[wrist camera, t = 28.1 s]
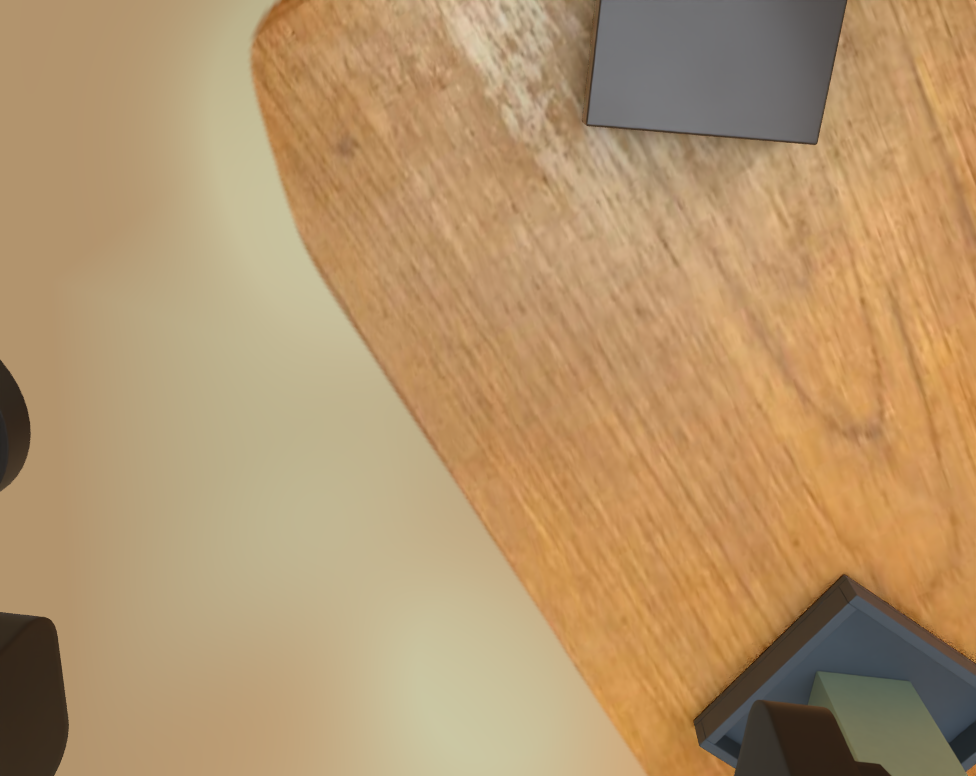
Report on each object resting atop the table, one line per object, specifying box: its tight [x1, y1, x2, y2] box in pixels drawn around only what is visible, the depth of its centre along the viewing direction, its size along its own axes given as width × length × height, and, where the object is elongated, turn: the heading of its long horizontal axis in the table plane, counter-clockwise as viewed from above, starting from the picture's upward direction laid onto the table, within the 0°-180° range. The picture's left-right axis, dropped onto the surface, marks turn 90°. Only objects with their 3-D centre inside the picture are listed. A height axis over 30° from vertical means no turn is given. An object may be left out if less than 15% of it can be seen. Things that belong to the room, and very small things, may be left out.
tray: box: [694, 575, 976, 772], centre depth 44 cm, size 12×12×2 cm
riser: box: [582, 0, 847, 145], centre depth 32 cm, size 7×9×4 cm
